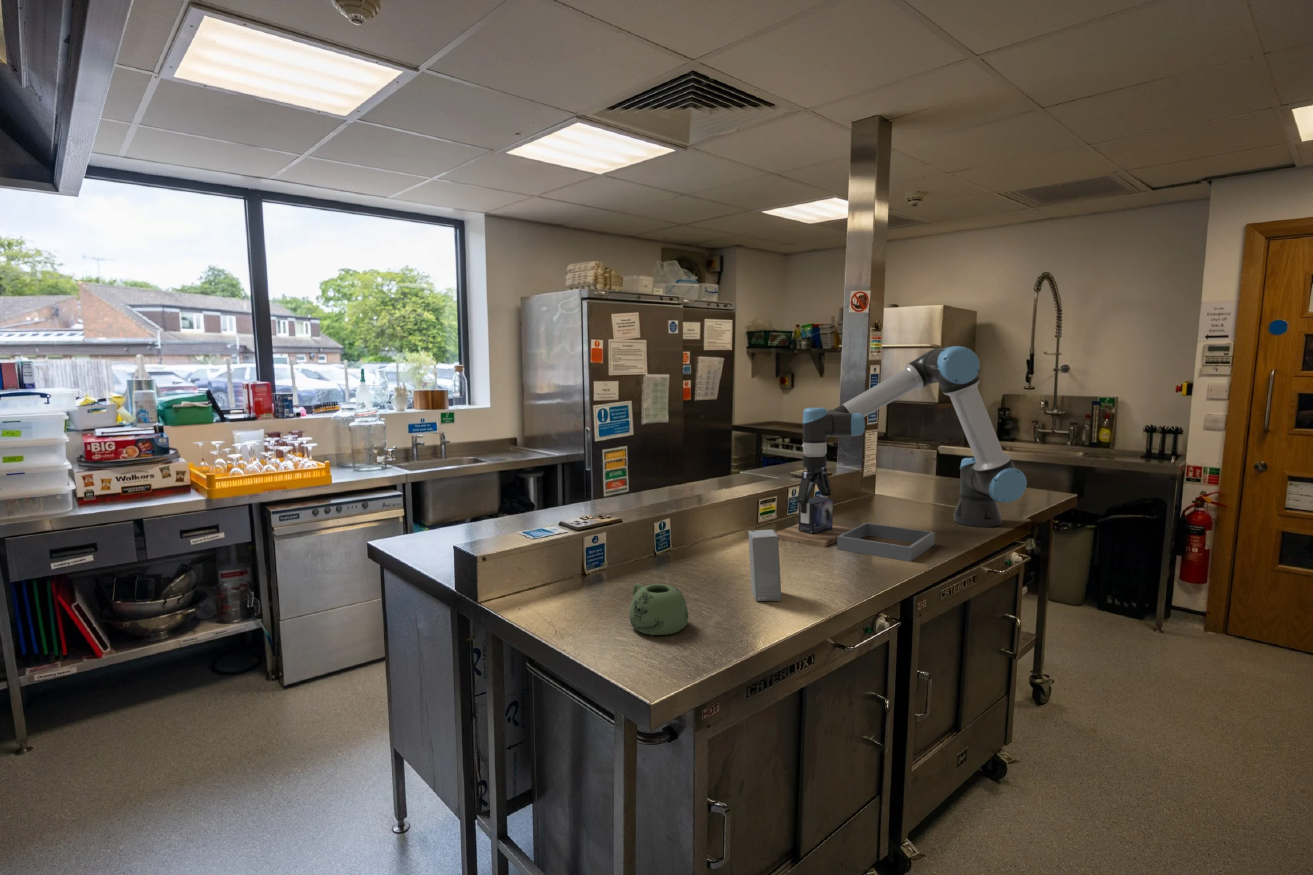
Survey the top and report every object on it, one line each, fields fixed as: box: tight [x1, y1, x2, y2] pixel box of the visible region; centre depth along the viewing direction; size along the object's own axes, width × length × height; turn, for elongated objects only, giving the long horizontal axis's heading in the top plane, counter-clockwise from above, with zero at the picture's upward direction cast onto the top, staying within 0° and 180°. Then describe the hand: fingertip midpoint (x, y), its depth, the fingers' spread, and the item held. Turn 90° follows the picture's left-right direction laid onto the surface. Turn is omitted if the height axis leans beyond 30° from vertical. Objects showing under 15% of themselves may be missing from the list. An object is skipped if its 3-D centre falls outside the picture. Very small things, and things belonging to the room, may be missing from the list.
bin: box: [836, 522, 936, 562], centre depth 200 cm, size 22×22×4 cm
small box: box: [798, 495, 834, 534], centre depth 215 cm, size 11×6×10 cm, turn 128°
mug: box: [629, 582, 689, 636], centre depth 142 cm, size 16×13×9 cm
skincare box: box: [747, 529, 782, 602], centre depth 158 cm, size 8×7×16 cm
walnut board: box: [775, 522, 854, 548], centre depth 215 cm, size 22×18×2 cm
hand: (814, 518), depth 215 cm, fingers open, 13 cm apart
